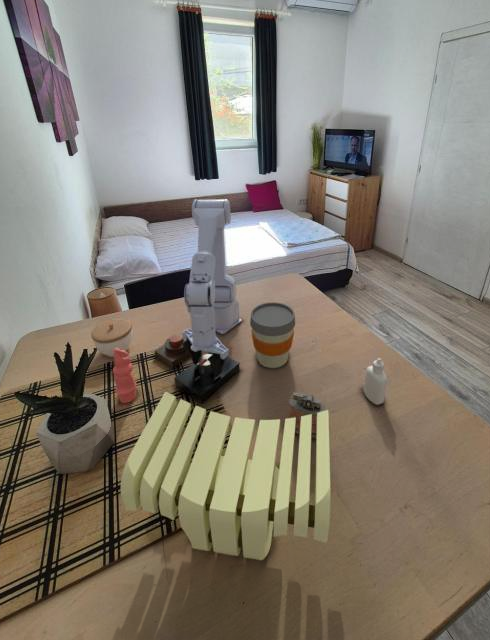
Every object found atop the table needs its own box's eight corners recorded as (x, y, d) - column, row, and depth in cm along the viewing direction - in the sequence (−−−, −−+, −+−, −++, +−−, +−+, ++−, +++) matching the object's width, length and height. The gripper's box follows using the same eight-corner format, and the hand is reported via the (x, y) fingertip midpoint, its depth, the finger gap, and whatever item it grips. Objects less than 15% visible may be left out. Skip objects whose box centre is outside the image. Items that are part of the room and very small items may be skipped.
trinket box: (117, 365, 92) (111, 338, 88) (88, 357, 95) (80, 331, 91) (143, 342, 101) (138, 317, 97) (115, 335, 104) (109, 311, 100)
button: (177, 337, 98) (176, 332, 97) (185, 342, 96) (184, 337, 95) (167, 343, 95) (166, 339, 94) (175, 348, 93) (174, 343, 92)
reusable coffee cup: (243, 365, 92) (241, 321, 86) (261, 339, 102) (261, 298, 96) (285, 377, 87) (286, 332, 81) (299, 349, 98) (301, 307, 92)
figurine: (143, 389, 84) (133, 342, 78) (133, 405, 79) (122, 356, 73) (124, 387, 84) (113, 340, 78) (113, 403, 80) (100, 355, 74)
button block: (182, 339, 103) (180, 328, 101) (199, 349, 98) (198, 338, 97) (155, 356, 95) (153, 345, 93) (173, 368, 91) (171, 356, 89)
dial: (207, 361, 89) (206, 350, 87) (219, 368, 86) (218, 357, 85) (195, 371, 85) (194, 359, 84) (207, 378, 83) (206, 367, 82)
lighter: (325, 428, 73) (328, 395, 69) (322, 441, 70) (325, 407, 66) (290, 418, 76) (291, 385, 72) (286, 430, 73) (287, 397, 69)
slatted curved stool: (137, 548, 53) (116, 478, 46) (176, 455, 67) (165, 391, 60) (322, 581, 49) (331, 510, 42) (322, 475, 64) (328, 409, 57)
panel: (214, 356, 95) (213, 348, 94) (239, 371, 90) (239, 362, 88) (175, 386, 85) (174, 377, 83) (202, 405, 79) (201, 395, 78)
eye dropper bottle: (379, 388, 84) (386, 351, 79) (384, 406, 79) (391, 367, 74) (362, 387, 84) (368, 350, 80) (365, 404, 79) (372, 366, 75)
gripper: (171, 323, 81) (177, 365, 87) (212, 345, 73) (216, 390, 79) (192, 310, 86) (197, 351, 92) (233, 329, 79) (235, 373, 84)
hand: (207, 368), depth 86 cm, fingers open, 7 cm apart
